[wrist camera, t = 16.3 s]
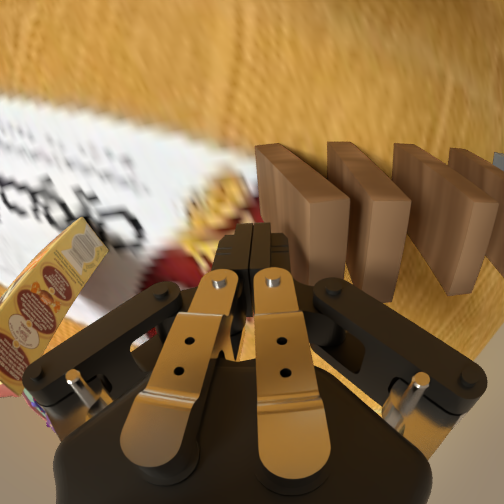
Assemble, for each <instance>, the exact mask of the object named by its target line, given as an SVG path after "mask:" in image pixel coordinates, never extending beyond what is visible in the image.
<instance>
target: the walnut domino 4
mask: <svg viewBox="0 0 504 504" xmlns="http://www.w3.org/2000/svg"><path fill="white" fill-rule="evenodd" d="M448 166H449V167H451V168H452V169H454V170H455V171H457V172H458V173H459V174H461V175H462V176H464V177H465V178H467V179H468V180H469V181H471V182H472V183H473V184H475V185H476V186H478V187H479V188H480V189H482V190H483V191H484V192H486V193H487V194H488V195H489V196H491V197H492V198H493V199H495V200H496V201H497V202H498V203H499V206H498V210H497V214H496V218H495V222H494V226H493V230H492V233H491V237H490V240H489V244H488V247H487V250H486V253H485V256H486V257H487V258H488V259H489V260H490V261H491V263H492V264H493V265H494V266H495V268H496V269H497V270H498V271H499V272H500V274H501V275H502V276H503V277H504V171H502V170H501V169H499V168H498V167H496V166H494V165H493V164H491V163H489V162H487V161H486V160H484V159H482V158H481V157H479V156H477V155H475V154H473V153H472V152H470V151H468V150H466V149H458V148H450V151H449V161H448Z"/></svg>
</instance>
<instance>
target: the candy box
mask: <svg viewBox="0 0 504 504" xmlns="http://www.w3.org/2000/svg"><path fill="white" fill-rule="evenodd" d="M108 251H109V250H108V249H107V247H106V246H105V245H104V243H103V242H102V241H101V240H100V238H99V237H98V236H97V235H96V233H95V232H94V231H93V230H92V228H91V227H90V226H89V224H88V223H87V222H86V220H85V219H84V218H83V217H80V218H79V219H78V220H76V221H75V222H74V223H72V224H71V225H70V226H69V227H68V228H66V229H65V230H64V231H63V232H62V233H60V234H59V235H58V236H57V237H56V238H55V239H54V240H53V241H51V242H50V243H49V244H48V245H47V246H46V247H45V248H44V249H43V250H42V251H41V252H40V253H38V254H37V255H36V256H35V258H34V259H33V260H32V261H31V262H30V263H29V264H28V265H27V267H26V268H25V269H24V270H23V271H22V272H21V273H20V274H19V275H18V277H17V278H16V279H15V280H14V281H13V283H12V284H11V285H10V286H9V287H8V289H7V290H6V291H5V292H4V294H3V295H2V296H1V297H0V398H2V397H3V398H4V397H12V396H14V397H20V396H21V394H22V392H23V390H24V386H23V384H22V376H23V373H24V371H25V370H26V368H27V367H28V366H29V365H30V364H31V363H33V362H34V361H36V360H37V359H39V358H40V357H41V356H42V355H43V353H44V351H45V349H46V347H47V345H48V344H49V342H50V340H51V338H52V337H53V335H54V333H55V332H56V330H57V328H58V327H59V325H60V323H61V322H62V320H63V318H64V316H65V315H66V313H67V312H68V310H69V308H70V307H71V305H72V304H73V302H74V301H75V299H76V298H77V296H78V294H79V293H80V291H81V290H82V288H83V287H84V285H85V284H86V282H87V281H88V279H89V278H90V276H91V275H92V274H93V272H94V271H95V269H96V268H97V267H98V265H99V264H100V262H101V261H102V259H103V258H104V257H105V255H106V254H107V253H108Z"/></svg>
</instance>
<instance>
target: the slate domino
mask: <svg viewBox="0 0 504 504" xmlns="http://www.w3.org/2000/svg"><path fill="white" fill-rule="evenodd" d="M493 165H494V166H496V167H498V168H499V169H501V170H502V171H504V154H502V153H496V152H495V153H494V160H493Z"/></svg>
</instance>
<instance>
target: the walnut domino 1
mask: <svg viewBox="0 0 504 504" xmlns="http://www.w3.org/2000/svg"><path fill="white" fill-rule="evenodd" d="M255 155H256V167H257V179H258V190H259V202H260V214H261V217H262V219H263V221H264V223H265V222H270V223H271V233H283V234H284V235H285V236H286V237H287V238H288V244H289V255H290V267H291V275H292V277H293V278H294V279H295V280H296V281H298V282H300V283H302V284H305V285H309V286H314V285H315V284H316V283H317V282H318V281H319V280H321V279H324V278H329V277H335V278H341V279H343V280H344V271H345V261H346V250H347V238H348V225H349V209H350V198H349V197H348V196H347V195H345V194H344V193H343V192H342V191H341V190H339V189H338V188H337V187H336V186H334V185H333V184H332V183H331V182H329V181H328V180H327V179H326V178H324V177H323V176H322V175H321V174H319V173H318V172H317V171H315V170H314V169H313V168H311V167H310V166H309V165H308V164H306V163H305V162H304V161H302V160H301V159H300V158H298V157H297V156H296V155H294V154H293V153H292V152H290V151H289V150H287V149H286V148H285V147H283V146H282V145H281V144H279V143H276V144H266V145H257V146H255Z"/></svg>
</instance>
